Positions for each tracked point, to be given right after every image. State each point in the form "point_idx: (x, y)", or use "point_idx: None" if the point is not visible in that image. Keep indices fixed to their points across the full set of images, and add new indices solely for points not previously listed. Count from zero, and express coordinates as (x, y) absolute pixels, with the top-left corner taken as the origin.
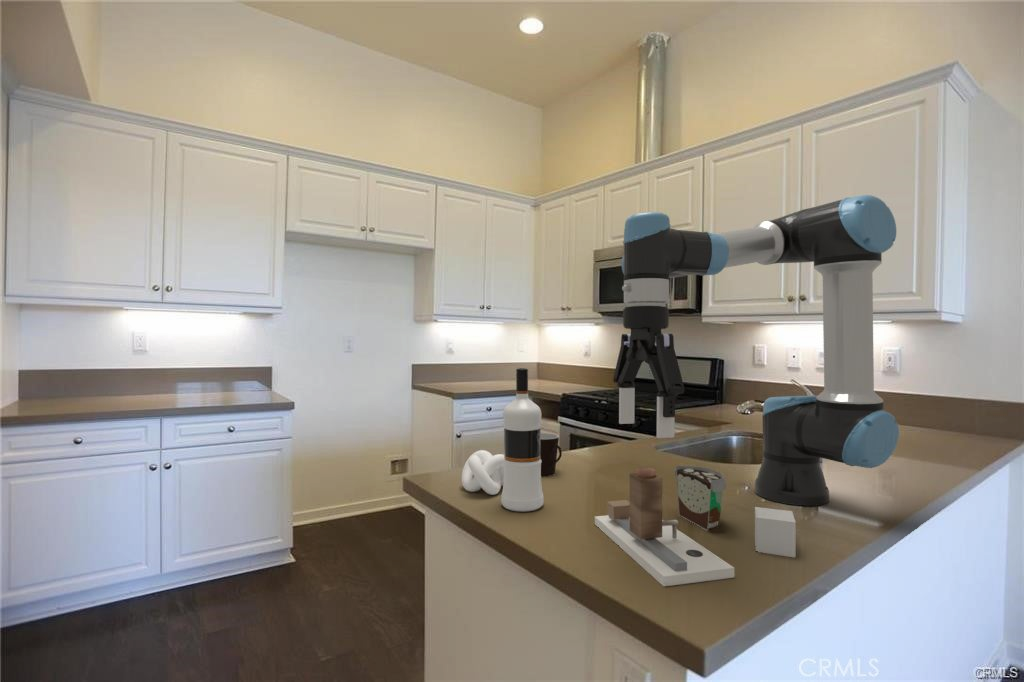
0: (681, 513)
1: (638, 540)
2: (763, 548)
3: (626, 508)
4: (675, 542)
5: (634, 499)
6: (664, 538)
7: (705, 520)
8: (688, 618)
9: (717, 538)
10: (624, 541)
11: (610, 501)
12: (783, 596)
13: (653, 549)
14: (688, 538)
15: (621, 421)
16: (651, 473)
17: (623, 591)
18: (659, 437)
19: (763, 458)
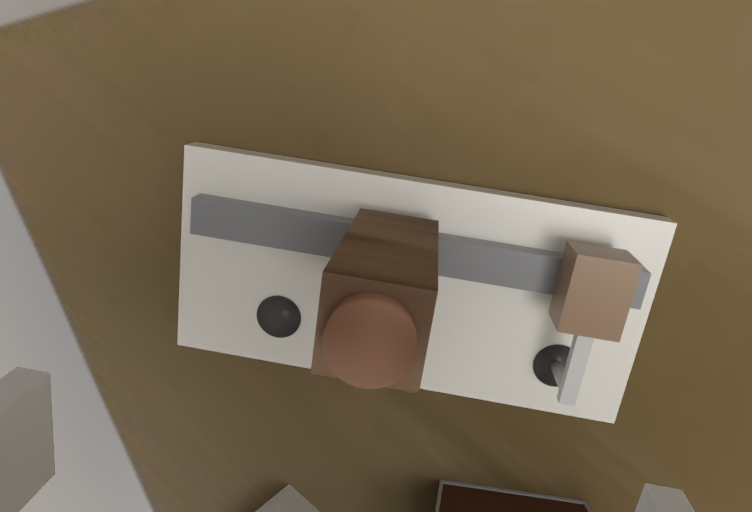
0: (574, 507)
1: None
2: (275, 501)
3: (561, 300)
4: None
5: (394, 248)
6: None
7: (453, 502)
8: (51, 95)
9: (392, 467)
10: (429, 187)
11: (637, 278)
12: (88, 358)
13: (315, 215)
14: None
15: (650, 503)
16: (322, 341)
17: (203, 20)
18: (15, 373)
19: None
